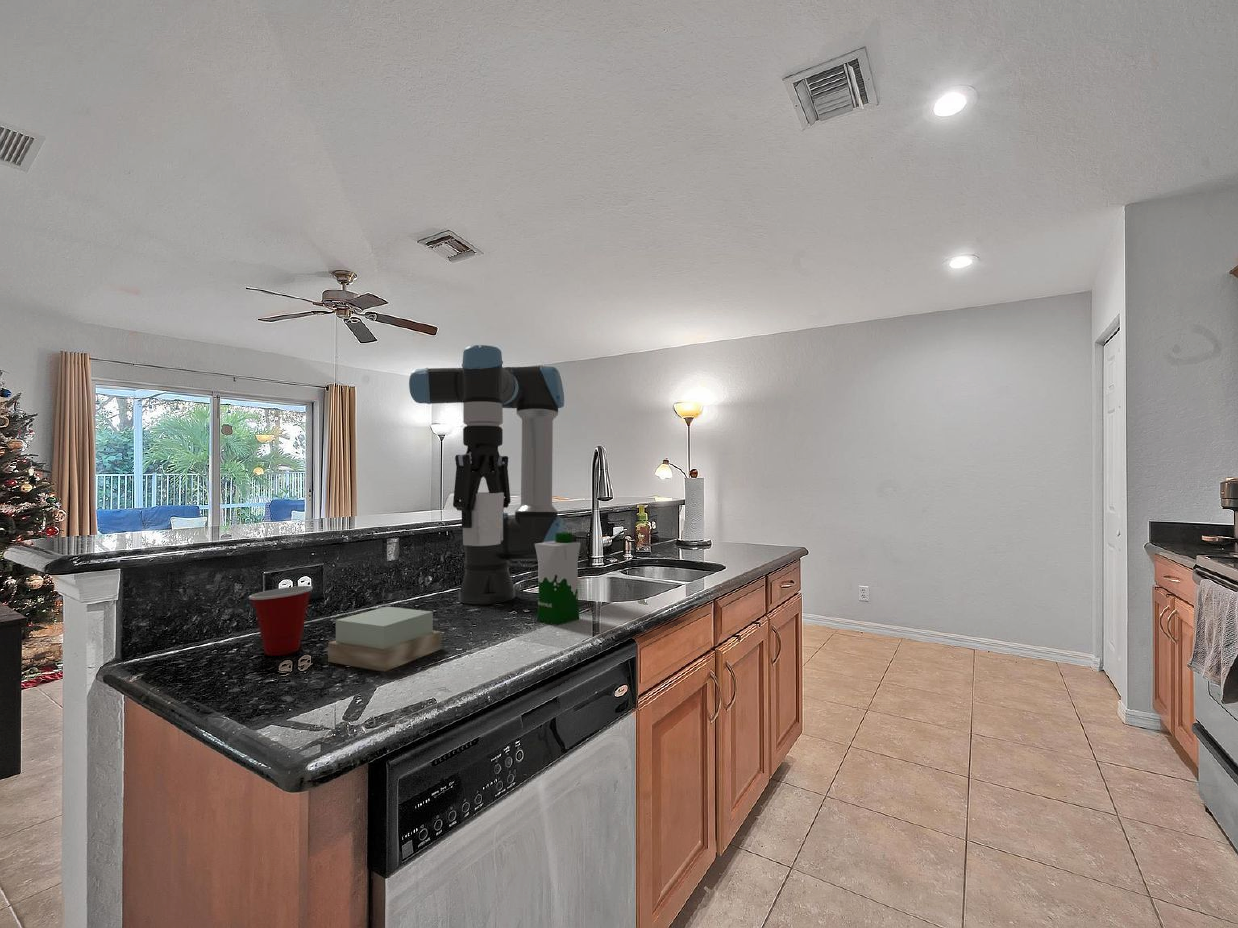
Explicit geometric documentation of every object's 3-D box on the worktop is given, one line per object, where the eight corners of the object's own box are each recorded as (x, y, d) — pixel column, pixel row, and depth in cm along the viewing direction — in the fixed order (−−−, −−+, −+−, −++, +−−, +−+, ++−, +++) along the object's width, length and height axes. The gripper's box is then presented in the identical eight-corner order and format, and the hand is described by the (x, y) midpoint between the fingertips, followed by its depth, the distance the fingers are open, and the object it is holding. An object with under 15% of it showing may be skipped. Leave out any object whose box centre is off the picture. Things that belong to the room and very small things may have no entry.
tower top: (387, 626, 115) (387, 606, 115) (432, 632, 110) (432, 611, 110) (335, 641, 104) (335, 619, 104) (383, 649, 99) (383, 626, 99)
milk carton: (585, 619, 133) (584, 533, 133) (556, 627, 126) (555, 536, 126) (559, 613, 138) (558, 531, 139) (530, 620, 132) (530, 534, 132)
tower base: (387, 644, 116) (387, 624, 116) (441, 652, 111) (441, 631, 111) (327, 664, 104) (328, 642, 104) (384, 674, 98) (384, 651, 98)
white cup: (490, 540, 116) (490, 491, 116) (512, 543, 111) (511, 492, 111) (455, 544, 111) (454, 493, 111) (476, 547, 105) (475, 493, 105)
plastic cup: (272, 642, 116) (273, 583, 116) (324, 643, 115) (324, 584, 115) (233, 660, 105) (234, 594, 105) (290, 660, 104) (290, 595, 105)
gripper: (498, 430, 122) (499, 536, 122) (431, 422, 103) (431, 548, 103) (527, 428, 119) (528, 537, 118) (464, 420, 100) (464, 550, 100)
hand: (483, 542), depth 111 cm, fingers closed on white cup, 7 cm apart
